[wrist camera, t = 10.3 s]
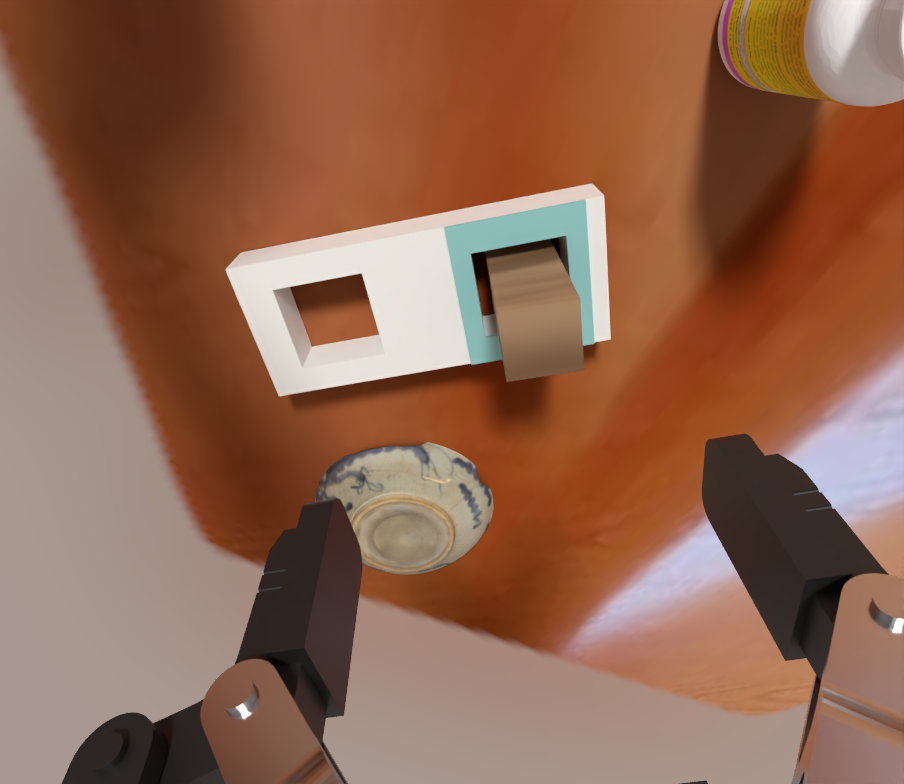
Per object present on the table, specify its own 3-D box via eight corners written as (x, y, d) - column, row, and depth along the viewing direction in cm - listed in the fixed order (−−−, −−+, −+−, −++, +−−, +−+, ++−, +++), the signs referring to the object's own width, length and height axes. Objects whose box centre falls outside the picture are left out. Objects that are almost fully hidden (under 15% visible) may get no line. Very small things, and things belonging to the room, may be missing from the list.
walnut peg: (484, 245, 36) (496, 311, 27) (547, 234, 35) (580, 298, 27) (492, 303, 38) (506, 382, 29) (552, 293, 37) (584, 370, 29)
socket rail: (240, 252, 36) (224, 270, 33) (592, 183, 34) (604, 196, 31) (289, 373, 40) (278, 398, 38) (599, 319, 38) (611, 340, 36)
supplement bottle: (761, 116, 32) (924, 160, 21) (686, 27, 30) (827, 24, 19) (872, 5, 29) (1127, -12, 18) (800, -103, 27) (1042, -195, 16)
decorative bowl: (527, 478, 47) (361, 405, 42) (534, 511, 44) (355, 436, 39) (439, 582, 54) (289, 529, 49) (439, 617, 51) (279, 563, 46)
